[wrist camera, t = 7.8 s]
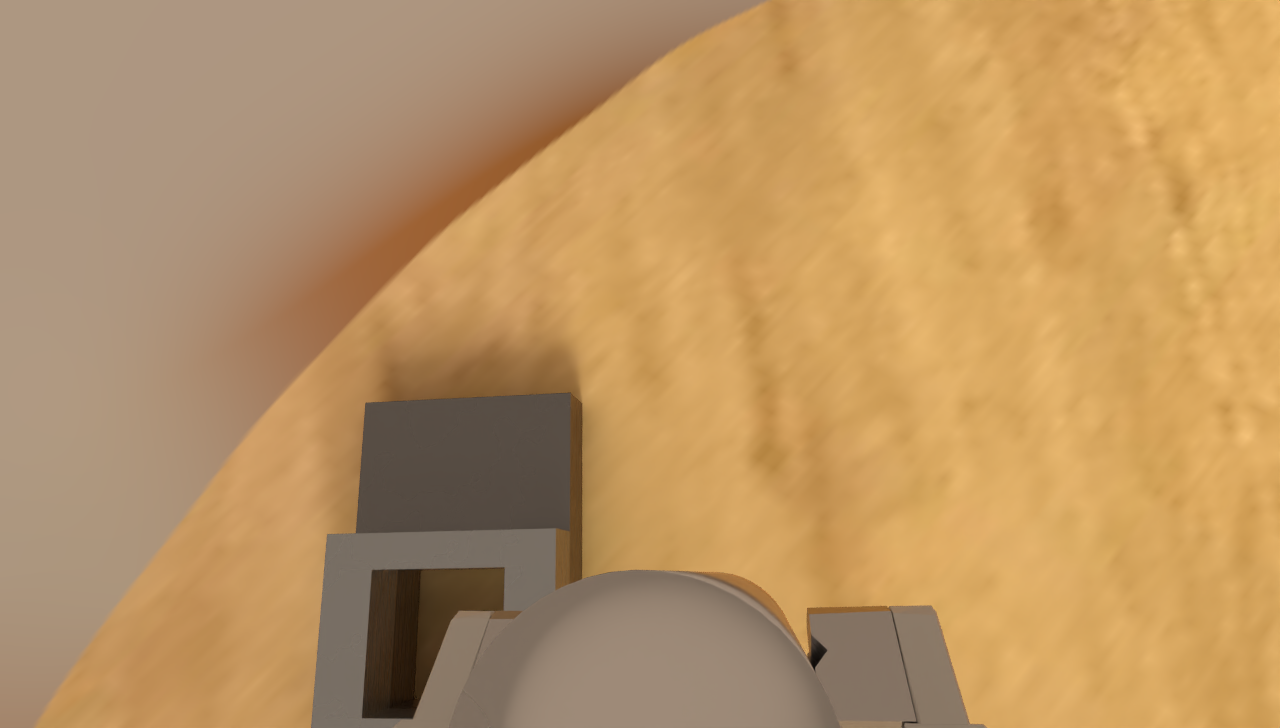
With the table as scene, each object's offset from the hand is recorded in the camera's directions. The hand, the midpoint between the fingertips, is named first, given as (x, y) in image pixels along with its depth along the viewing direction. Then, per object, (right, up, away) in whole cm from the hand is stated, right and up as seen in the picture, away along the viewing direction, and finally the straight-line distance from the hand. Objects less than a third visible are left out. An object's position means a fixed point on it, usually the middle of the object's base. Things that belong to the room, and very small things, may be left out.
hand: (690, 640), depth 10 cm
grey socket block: (-7, -6, +19) cm, 21 cm away
